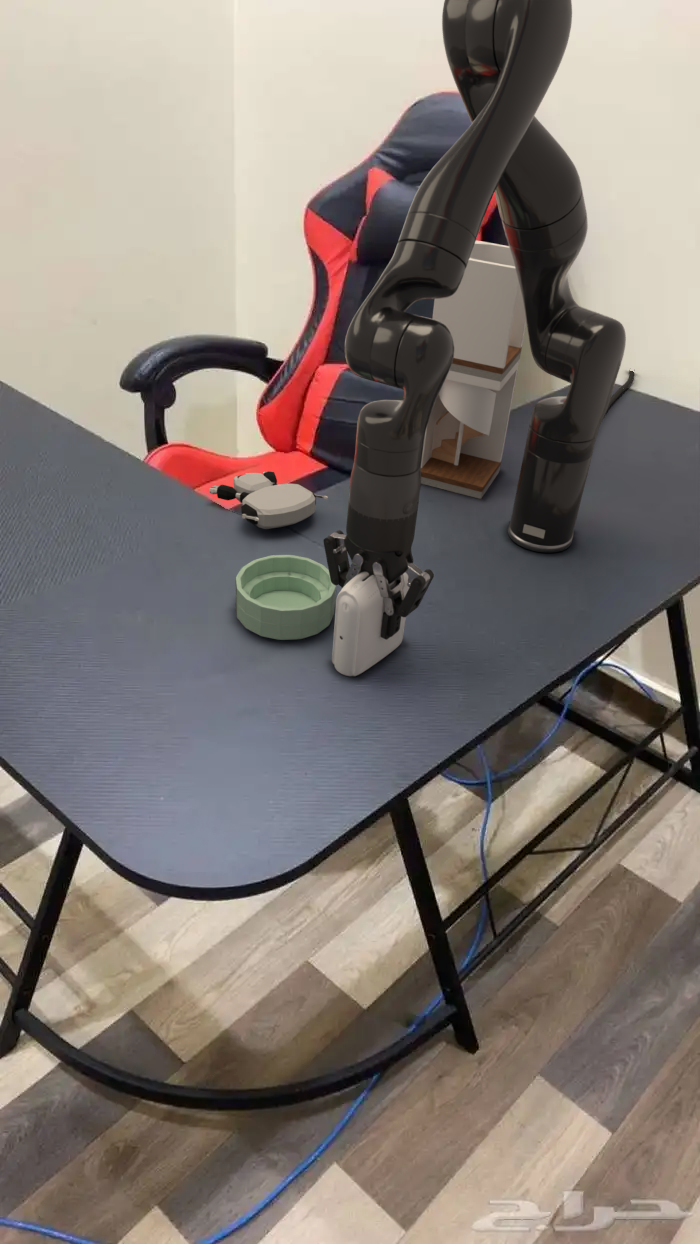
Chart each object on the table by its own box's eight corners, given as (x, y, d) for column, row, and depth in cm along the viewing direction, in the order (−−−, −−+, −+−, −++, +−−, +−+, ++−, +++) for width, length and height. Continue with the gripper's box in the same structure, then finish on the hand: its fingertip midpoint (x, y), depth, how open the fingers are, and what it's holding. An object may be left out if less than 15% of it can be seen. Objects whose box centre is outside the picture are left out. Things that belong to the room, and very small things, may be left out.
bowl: (278, 576, 127) (279, 544, 124) (352, 611, 121) (355, 579, 118) (215, 616, 118) (215, 583, 115) (292, 656, 113) (293, 622, 110)
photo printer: (353, 682, 110) (362, 595, 102) (325, 666, 112) (332, 579, 105) (407, 644, 116) (419, 560, 109) (380, 629, 119) (389, 545, 111)
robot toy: (204, 506, 142) (260, 545, 132) (202, 478, 139) (259, 516, 129) (272, 486, 148) (330, 522, 138) (271, 459, 146) (331, 494, 136)
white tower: (412, 481, 151) (440, 254, 131) (434, 455, 159) (463, 238, 139) (480, 498, 148) (520, 269, 127) (499, 471, 156) (539, 251, 136)
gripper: (458, 509, 101) (438, 637, 111) (350, 466, 107) (340, 590, 117) (420, 536, 96) (403, 667, 106) (309, 489, 102) (302, 617, 112)
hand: (370, 626), depth 112 cm, fingers closed on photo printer, 4 cm apart
